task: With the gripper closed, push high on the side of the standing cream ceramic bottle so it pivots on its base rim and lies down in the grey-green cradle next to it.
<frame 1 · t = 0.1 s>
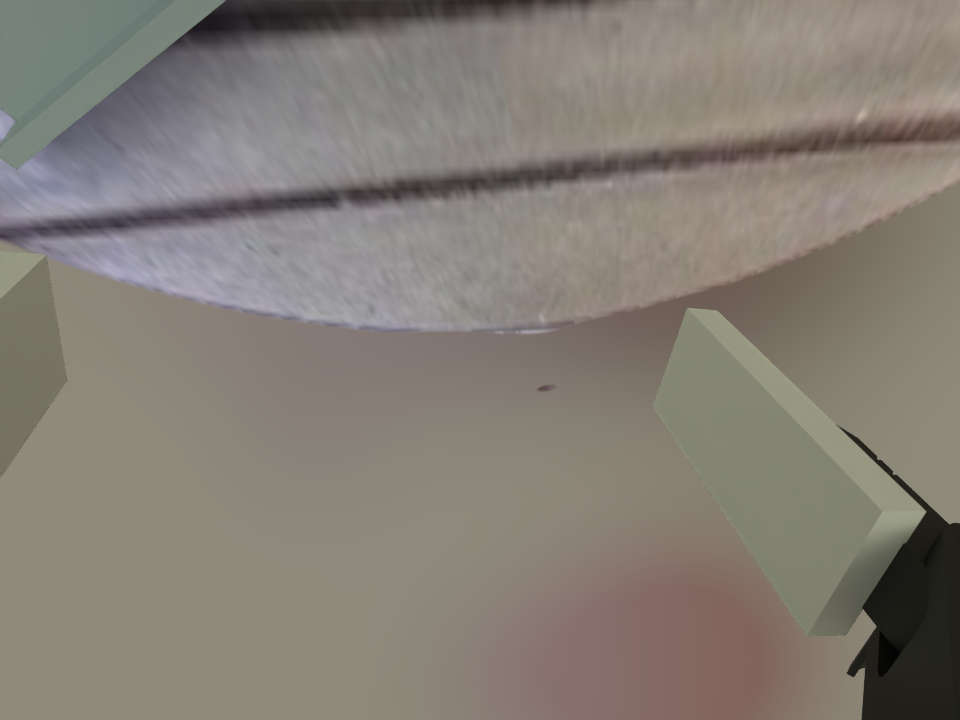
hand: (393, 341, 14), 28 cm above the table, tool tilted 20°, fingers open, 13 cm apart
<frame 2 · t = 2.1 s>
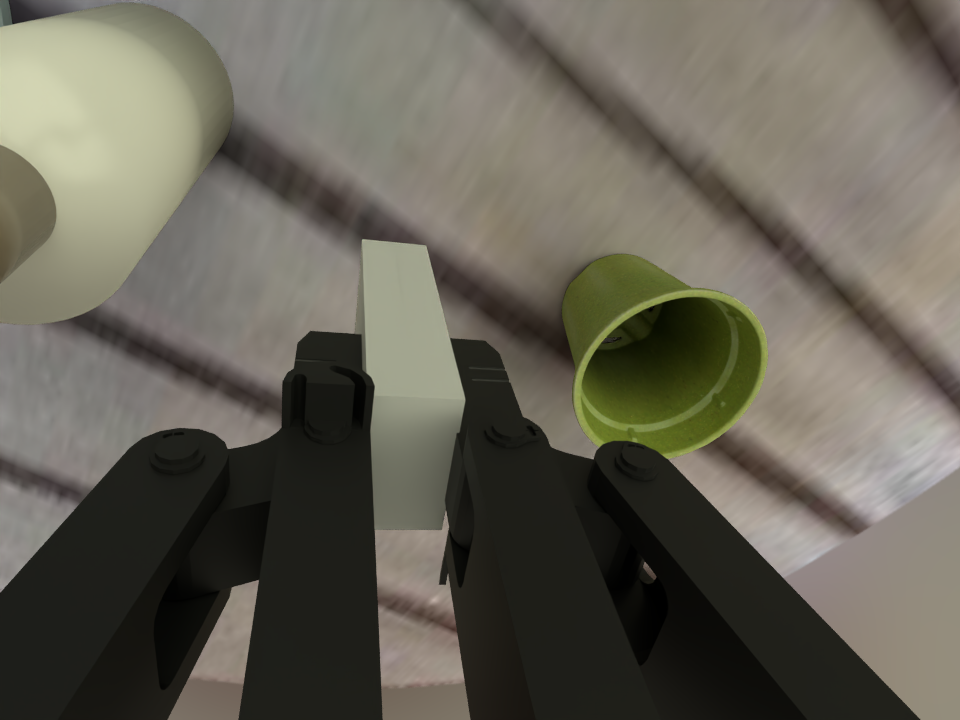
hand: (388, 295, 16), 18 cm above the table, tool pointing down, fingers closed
cream bottle: (149, 93, 29), on the table
plant pot: (611, 299, 38), on the table
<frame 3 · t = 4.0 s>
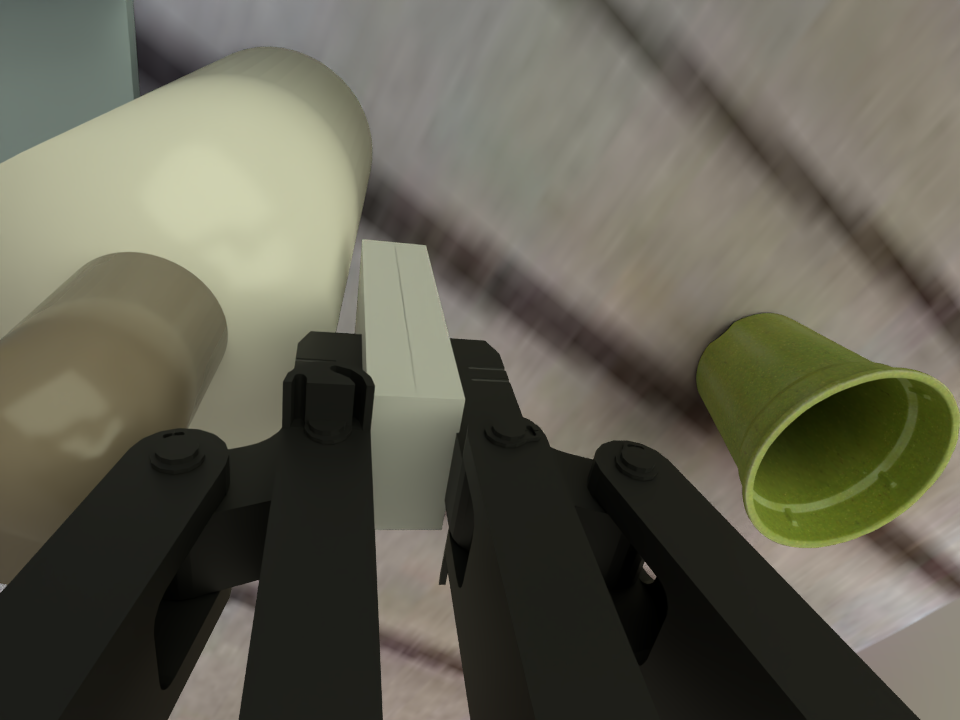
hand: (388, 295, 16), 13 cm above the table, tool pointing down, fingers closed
cream bottle: (280, 146, 26), on the table, touching hand
plant pot: (747, 359, 35), on the table
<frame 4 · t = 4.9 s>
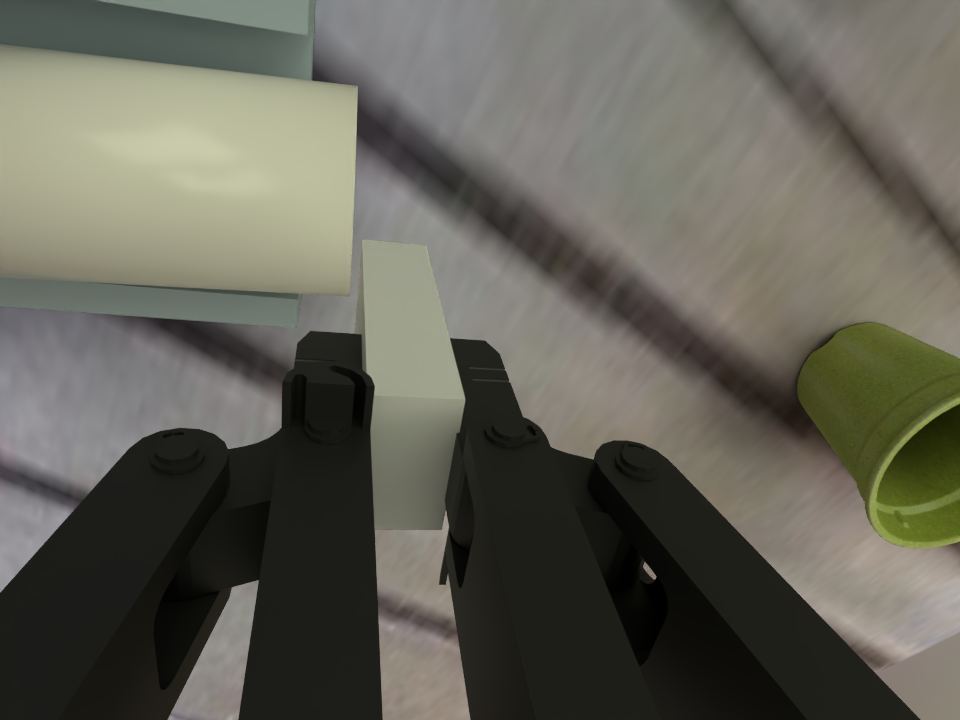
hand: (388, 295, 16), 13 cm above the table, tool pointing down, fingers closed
grey-green cradle: (22, 113, 24), on the table
cream bottle: (353, 194, 23), point 4 cm above the table, tilted 90°, touching grey-green cradle
plant pot: (845, 367, 37), on the table
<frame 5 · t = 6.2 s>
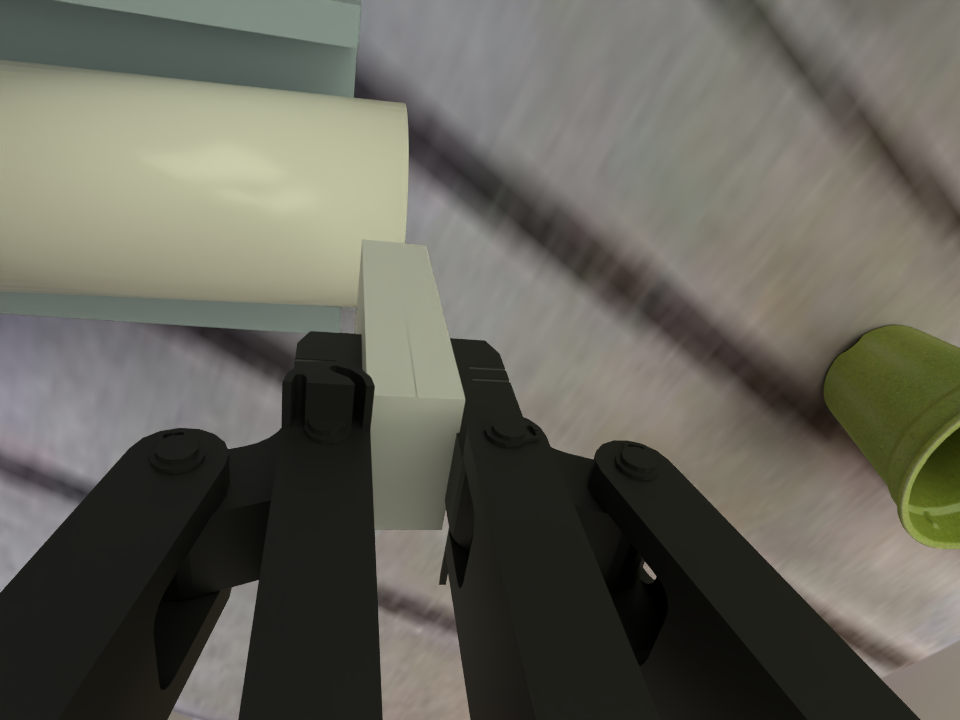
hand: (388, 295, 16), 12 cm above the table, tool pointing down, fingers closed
grey-green cradle: (69, 126, 24), on the table
cream bottle: (398, 209, 23), point 4 cm above the table, tilted 90°, touching grey-green cradle
plant pot: (871, 369, 37), on the table
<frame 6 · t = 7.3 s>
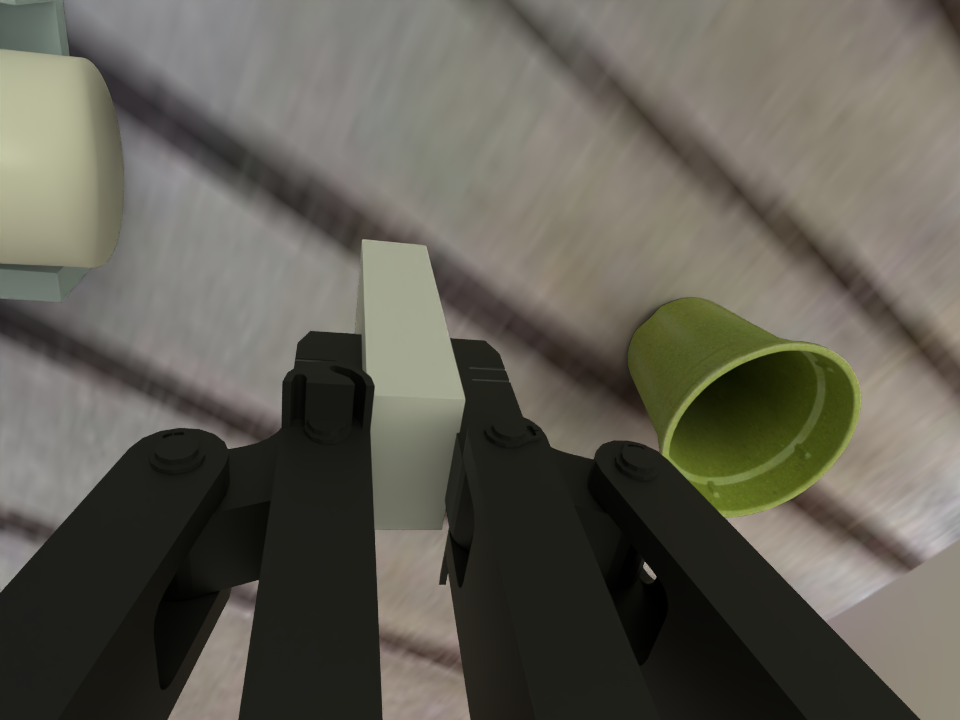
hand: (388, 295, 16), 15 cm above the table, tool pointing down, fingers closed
cream bottle: (93, 166, 23), point 4 cm above the table, tilted 90°, touching grey-green cradle
plant pot: (676, 343, 37), on the table
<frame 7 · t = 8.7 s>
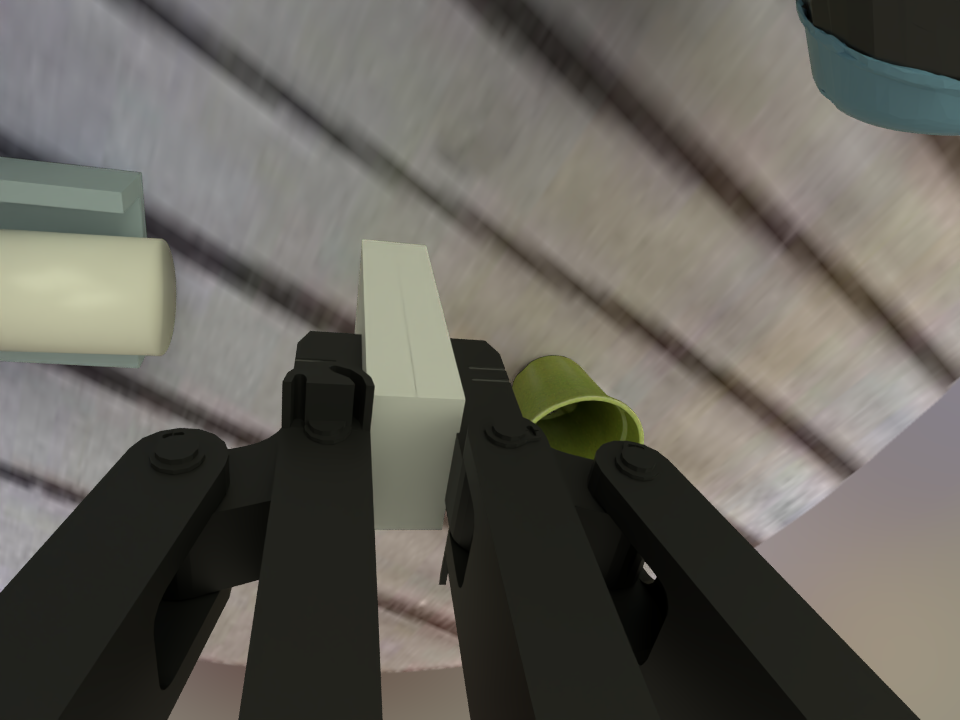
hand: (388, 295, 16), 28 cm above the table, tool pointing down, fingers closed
cream bottle: (162, 297, 40), point 4 cm above the table, tilted 90°, touching grey-green cradle
plant pot: (547, 384, 54), on the table
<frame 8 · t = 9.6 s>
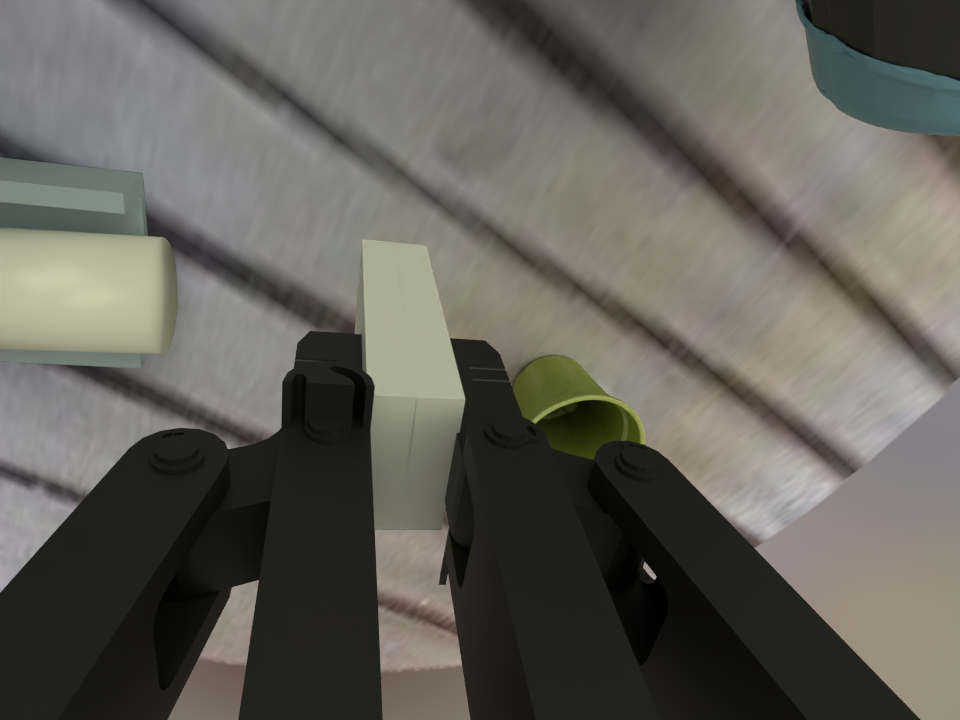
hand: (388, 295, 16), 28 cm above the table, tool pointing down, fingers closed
cream bottle: (163, 296, 40), point 4 cm above the table, tilted 90°, touching grey-green cradle
plant pot: (548, 384, 54), on the table
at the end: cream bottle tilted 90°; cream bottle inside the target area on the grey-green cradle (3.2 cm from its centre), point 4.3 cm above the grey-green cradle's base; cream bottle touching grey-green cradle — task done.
